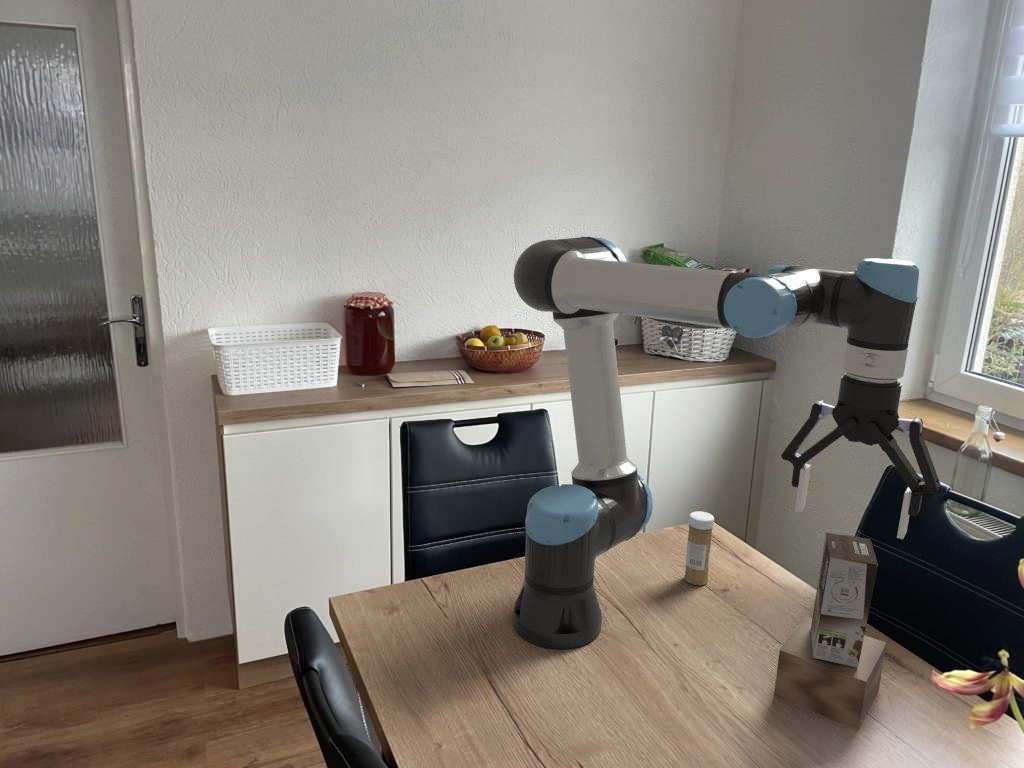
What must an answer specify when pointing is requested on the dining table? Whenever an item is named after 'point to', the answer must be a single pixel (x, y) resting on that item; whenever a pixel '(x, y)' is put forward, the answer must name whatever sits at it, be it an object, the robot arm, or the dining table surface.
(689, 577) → the sprinkles bottle
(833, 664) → the walnut block
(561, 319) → the robot arm
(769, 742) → the dining table surface
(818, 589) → the coffee box
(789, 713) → the dining table surface
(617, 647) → the dining table surface
